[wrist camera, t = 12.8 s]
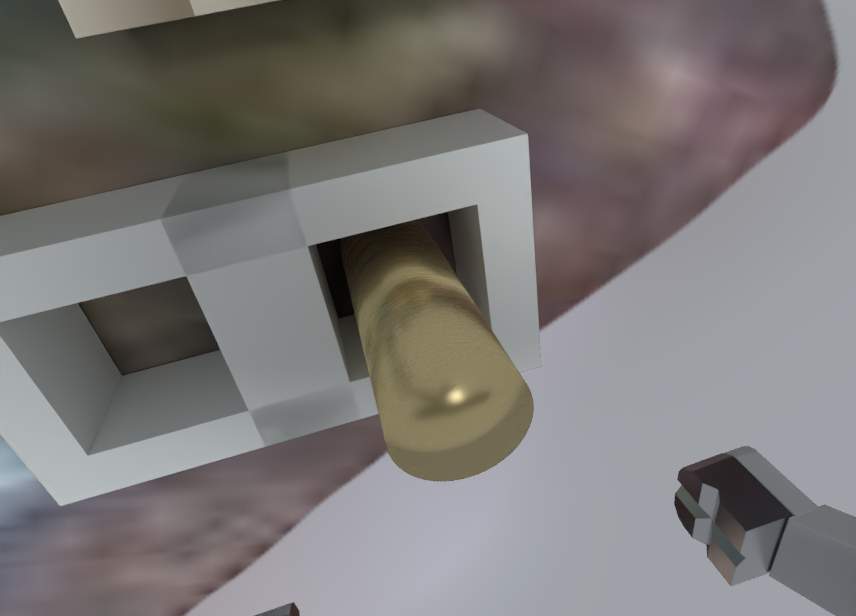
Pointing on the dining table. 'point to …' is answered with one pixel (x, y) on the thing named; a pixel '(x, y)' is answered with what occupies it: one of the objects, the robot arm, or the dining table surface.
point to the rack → (243, 296)
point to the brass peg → (431, 357)
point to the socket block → (139, 12)
